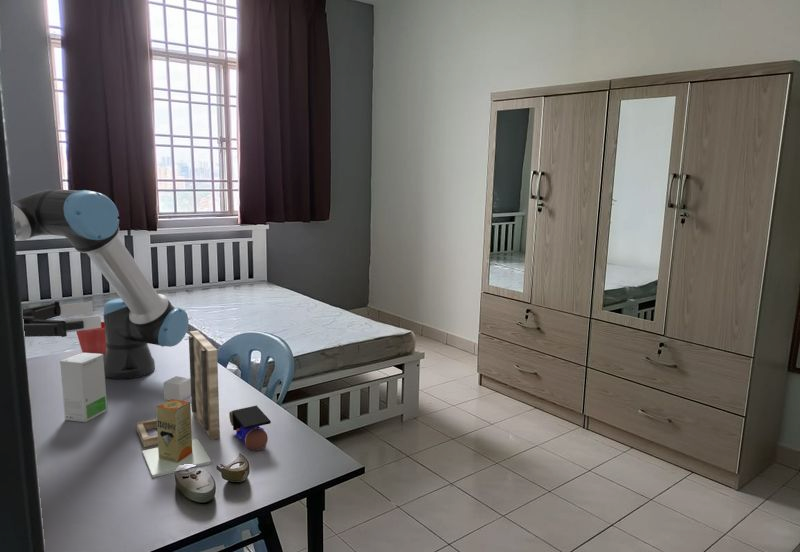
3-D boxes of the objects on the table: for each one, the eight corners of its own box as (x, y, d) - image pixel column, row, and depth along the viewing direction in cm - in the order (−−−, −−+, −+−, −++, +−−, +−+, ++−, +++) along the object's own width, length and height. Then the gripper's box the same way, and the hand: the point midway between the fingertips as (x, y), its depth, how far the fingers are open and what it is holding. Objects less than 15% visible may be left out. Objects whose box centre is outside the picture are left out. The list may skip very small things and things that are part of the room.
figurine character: (227, 436, 143) (245, 456, 130) (225, 406, 142) (243, 423, 129) (254, 430, 146) (274, 449, 133) (253, 401, 145) (273, 417, 132)
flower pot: (86, 348, 201) (84, 321, 199) (118, 348, 202) (117, 321, 200) (71, 358, 190) (69, 329, 188) (106, 358, 191) (104, 330, 189)
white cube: (164, 399, 160) (163, 382, 159) (176, 392, 165) (175, 376, 164) (179, 401, 159) (178, 384, 158) (191, 395, 163) (190, 378, 163)
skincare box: (85, 423, 144) (81, 363, 141) (62, 420, 145) (57, 361, 142) (108, 410, 152) (104, 353, 149) (86, 407, 153) (82, 350, 150)
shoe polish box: (177, 462, 125) (175, 410, 123) (158, 458, 127) (156, 407, 125) (192, 452, 130) (190, 402, 128) (174, 448, 131) (171, 398, 129)
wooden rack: (134, 423, 145) (129, 338, 140) (200, 410, 153) (197, 330, 149) (147, 454, 130) (141, 360, 126) (219, 437, 138) (217, 349, 134)
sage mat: (142, 453, 130) (142, 450, 130) (197, 441, 136) (197, 438, 136) (152, 477, 120) (152, 475, 120) (211, 463, 127) (211, 460, 126)
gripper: (-16, 329, 130) (91, 317, 141) (-19, 363, 109) (105, 345, 121) (-20, 296, 128) (88, 287, 140) (-24, 324, 108) (102, 310, 119)
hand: (96, 314), depth 130 cm, fingers open, 13 cm apart
